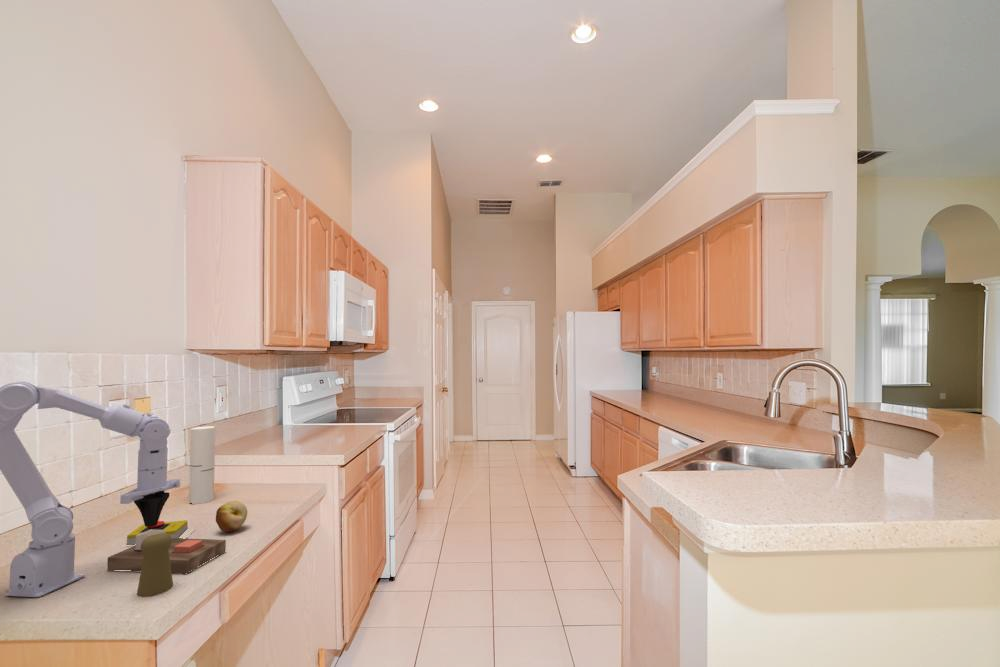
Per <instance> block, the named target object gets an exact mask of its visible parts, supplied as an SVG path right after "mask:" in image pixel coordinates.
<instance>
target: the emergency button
mask: <svg viewBox="0 0 1000 667" xmlns="http://www.w3.org/2000/svg"><path fill="white" fill-rule="evenodd" d="M188 525H189V524H188V520H175V521H166V522H165V521H163V520H158V523H157V525H155V526H153V527H146V526H145V524H141V525H139V526H138V527H136V528H135V529H134V530H132V531H131V532H130V533H128V534H127V537H126V541H127V543H126V545H135V544H136V535H138V534H141V533H143V532H146V531H148V530H150V529H153V530H165V533H166V534H169V535H170V536H171V538H179V537H180V536H181V535H182V534H183V533H184V532H185V531H186V530H187V529H189V526H188Z"/></svg>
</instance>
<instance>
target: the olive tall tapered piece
mask: <svg viewBox="0 0 1000 667" xmlns="http://www.w3.org/2000/svg"><path fill="white" fill-rule="evenodd" d="M171 543H172V538H171V536H170V535H169V534H166V533H160V534H154V535H151V536H148V537H147V538H145V539H144V540H143V542H142V544H141V551H142V553H143V554H144V557H143V563H142V568H141V572H140V575H139V580H138V586H137V591H136V595H137V597H140V596H141V597H140V598H148V597H153V596H158V595H160V594H164V593H166V592H168V591H169V590H171V589H172V588H173V586H174V582H173V574H172V573H171V565H170V558H169V550H168V549H169V548H170V546H171ZM163 592H164V593H163ZM157 594H158V595H157Z"/></svg>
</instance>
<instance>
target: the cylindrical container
mask: <svg viewBox="0 0 1000 667" xmlns="http://www.w3.org/2000/svg"><path fill="white" fill-rule="evenodd" d="M189 452H190V453H189V459H190V460H189V494H188V496H189V497H188V498H189V499H188V504H189V503H192V504H191V505H200V504H201V503H203V504H208V503H211V502H213V501H214V499H215V460H216V458H215V455H216V453H215V452H216V426H211V425H209V426H208V425H207V426H196V427H191V428H190V451H189Z"/></svg>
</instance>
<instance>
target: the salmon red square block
mask: <svg viewBox="0 0 1000 667" xmlns="http://www.w3.org/2000/svg"><path fill="white" fill-rule="evenodd" d="M202 545H203V540H186V541H184V542H182V543H180V544H178V545H176V546H174V553H191V552H193V551H195V550H197V549H199V548H201V547H202Z"/></svg>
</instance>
